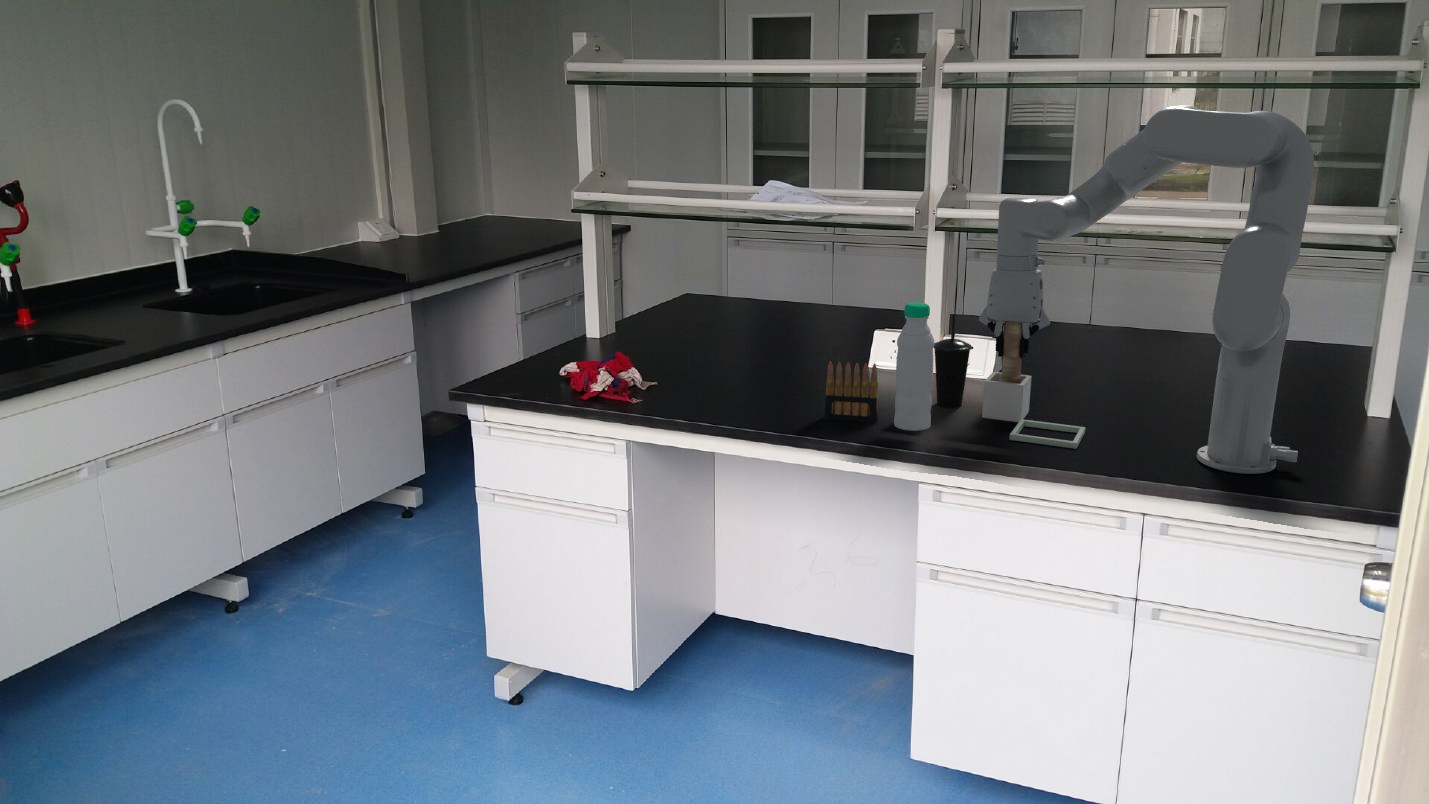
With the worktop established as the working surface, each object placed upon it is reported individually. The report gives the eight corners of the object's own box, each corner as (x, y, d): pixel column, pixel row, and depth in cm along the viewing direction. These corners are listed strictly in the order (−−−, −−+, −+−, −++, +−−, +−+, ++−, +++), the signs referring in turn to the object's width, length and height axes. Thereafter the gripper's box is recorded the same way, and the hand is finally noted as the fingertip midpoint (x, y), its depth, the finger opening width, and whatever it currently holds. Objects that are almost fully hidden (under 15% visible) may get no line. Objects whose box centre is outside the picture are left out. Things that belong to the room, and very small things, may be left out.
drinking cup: (926, 404, 221) (930, 311, 216) (961, 402, 222) (966, 310, 216) (935, 415, 214) (940, 319, 208) (972, 413, 215) (978, 318, 209)
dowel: (1021, 396, 210) (1025, 308, 205) (1017, 401, 207) (1021, 311, 202) (1002, 394, 212) (1007, 306, 207) (998, 399, 209) (1003, 310, 204)
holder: (1028, 416, 213) (1031, 375, 210) (1020, 427, 206) (1023, 385, 204) (990, 411, 216) (993, 371, 213) (981, 422, 209) (984, 381, 207)
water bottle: (897, 422, 210) (902, 299, 203) (933, 425, 208) (939, 301, 200) (890, 433, 204) (894, 306, 197) (926, 436, 201) (932, 308, 194)
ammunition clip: (878, 420, 212) (879, 362, 208) (877, 422, 210) (878, 364, 207) (825, 416, 215) (826, 359, 211) (824, 419, 213) (824, 362, 209)
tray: (1084, 437, 200) (1085, 427, 199) (1075, 453, 191) (1076, 443, 191) (1020, 428, 205) (1021, 419, 204) (1009, 444, 197) (1009, 434, 196)
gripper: (1064, 262, 201) (1059, 355, 206) (978, 258, 209) (974, 348, 214) (1057, 268, 195) (1052, 364, 200) (968, 264, 202) (965, 357, 207)
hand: (1012, 355), depth 207 cm, fingers closed on dowel, 3 cm apart
